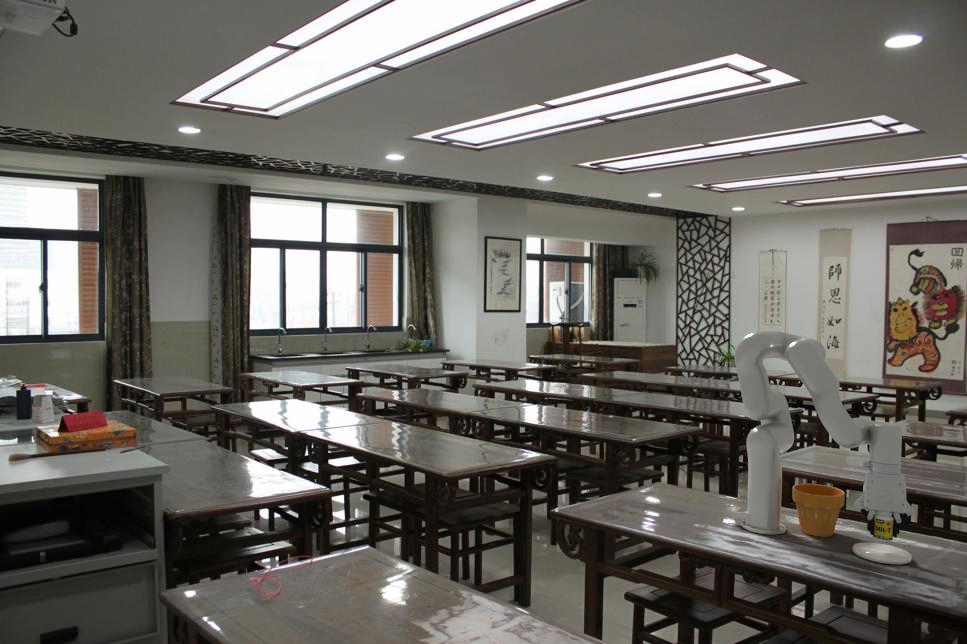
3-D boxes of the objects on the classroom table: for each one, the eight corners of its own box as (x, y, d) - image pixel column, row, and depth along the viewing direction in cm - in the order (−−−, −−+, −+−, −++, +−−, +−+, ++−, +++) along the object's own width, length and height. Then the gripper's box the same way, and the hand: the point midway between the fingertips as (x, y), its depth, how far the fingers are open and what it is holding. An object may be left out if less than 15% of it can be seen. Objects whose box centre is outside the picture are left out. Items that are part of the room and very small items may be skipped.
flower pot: (837, 543, 206) (839, 498, 206) (785, 533, 215) (787, 490, 214) (847, 531, 217) (849, 488, 217) (797, 522, 226) (799, 481, 225)
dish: (855, 561, 192) (856, 555, 192) (849, 545, 205) (850, 539, 205) (916, 569, 187) (916, 563, 186) (906, 552, 200) (906, 546, 200)
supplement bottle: (872, 540, 194) (873, 509, 194) (872, 535, 198) (873, 505, 198) (893, 543, 192) (894, 512, 192) (892, 538, 196) (893, 507, 196)
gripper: (851, 468, 194) (849, 535, 195) (923, 474, 188) (921, 543, 189) (848, 462, 201) (846, 527, 202) (918, 468, 195) (916, 534, 196)
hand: (882, 534), depth 195 cm, fingers closed on supplement bottle, 4 cm apart
